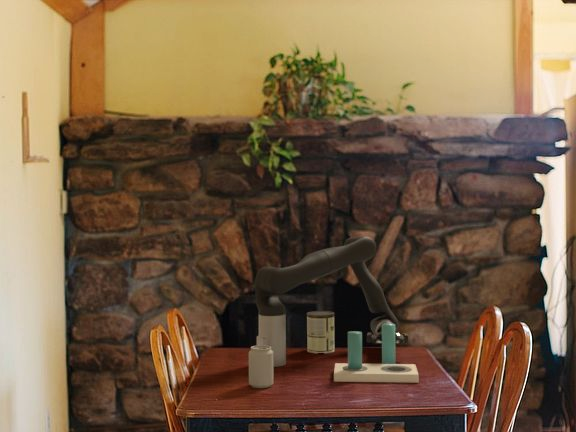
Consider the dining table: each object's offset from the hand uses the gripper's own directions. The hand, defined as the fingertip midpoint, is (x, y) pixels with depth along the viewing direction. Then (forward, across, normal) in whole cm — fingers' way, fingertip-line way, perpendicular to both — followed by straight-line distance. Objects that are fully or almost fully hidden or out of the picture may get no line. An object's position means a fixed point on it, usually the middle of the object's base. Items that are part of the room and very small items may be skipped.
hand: (388, 341), depth 261 cm
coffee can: (-22, -24, +8) cm, 33 cm away
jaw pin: (+1, 0, +8) cm, 8 cm away
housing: (+16, -5, +8) cm, 19 cm away
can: (+30, -40, +8) cm, 50 cm away
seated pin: (+16, -11, +8) cm, 21 cm away
